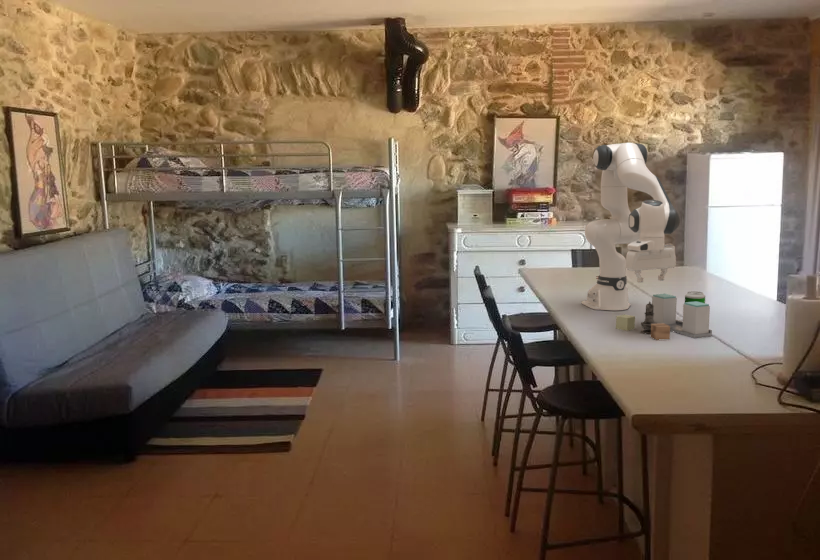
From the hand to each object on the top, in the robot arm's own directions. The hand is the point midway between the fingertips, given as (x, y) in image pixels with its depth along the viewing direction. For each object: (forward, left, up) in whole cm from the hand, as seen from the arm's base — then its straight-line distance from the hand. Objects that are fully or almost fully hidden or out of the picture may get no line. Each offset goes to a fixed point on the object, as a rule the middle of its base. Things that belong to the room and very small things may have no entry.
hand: (650, 281), depth 281 cm
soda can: (-7, +27, -20) cm, 34 cm away
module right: (+10, +13, -18) cm, 25 cm away
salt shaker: (0, 0, -20) cm, 20 cm away
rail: (+1, +13, -20) cm, 23 cm away
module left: (-8, +13, -18) cm, 24 cm away
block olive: (-9, -4, -20) cm, 22 cm away
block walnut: (+9, -2, -20) cm, 22 cm away
